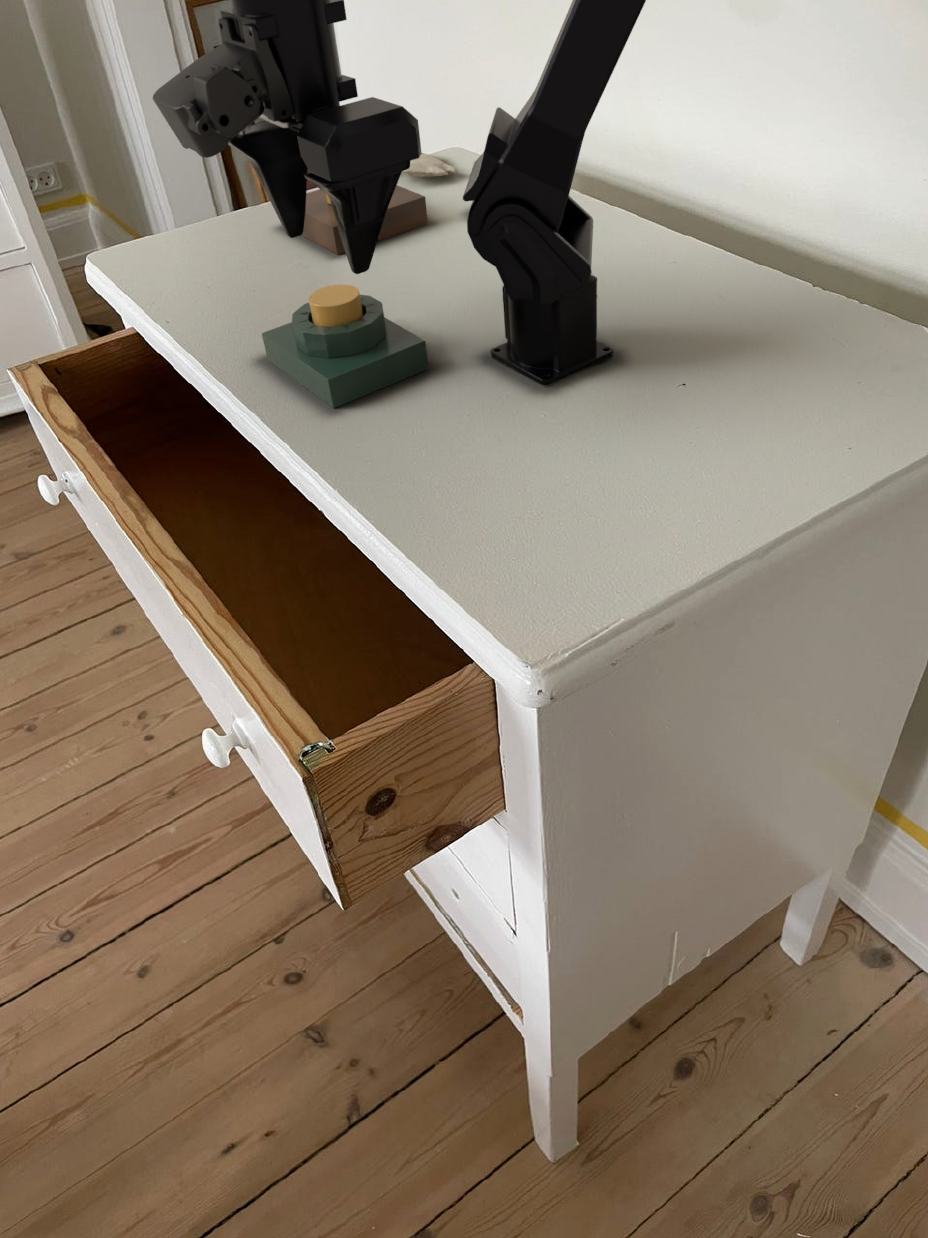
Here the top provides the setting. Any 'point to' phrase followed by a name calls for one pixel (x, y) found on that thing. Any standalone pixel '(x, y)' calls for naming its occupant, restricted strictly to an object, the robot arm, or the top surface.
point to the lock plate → (400, 217)
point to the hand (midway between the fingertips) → (326, 253)
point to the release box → (345, 353)
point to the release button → (335, 305)
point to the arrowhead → (429, 167)
